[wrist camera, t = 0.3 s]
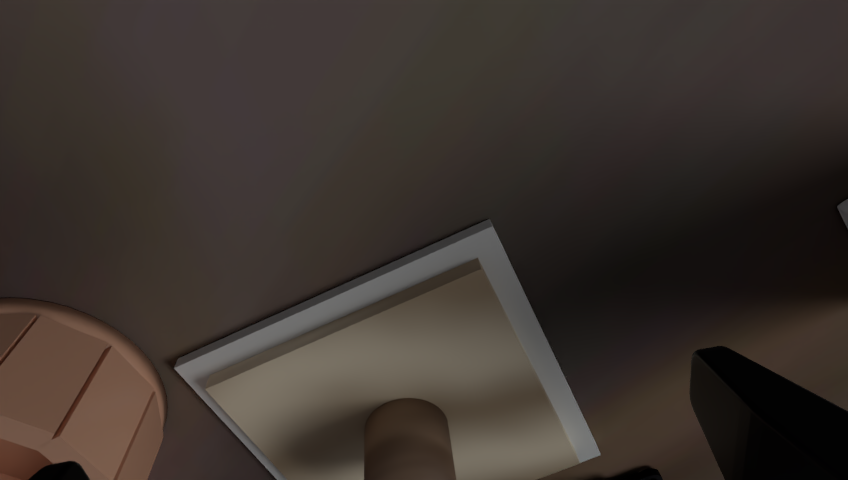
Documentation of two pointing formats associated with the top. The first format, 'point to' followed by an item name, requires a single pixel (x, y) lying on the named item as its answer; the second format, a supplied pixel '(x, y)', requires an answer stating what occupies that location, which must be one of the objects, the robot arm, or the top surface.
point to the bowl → (75, 395)
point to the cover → (402, 393)
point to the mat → (378, 287)
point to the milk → (844, 211)
